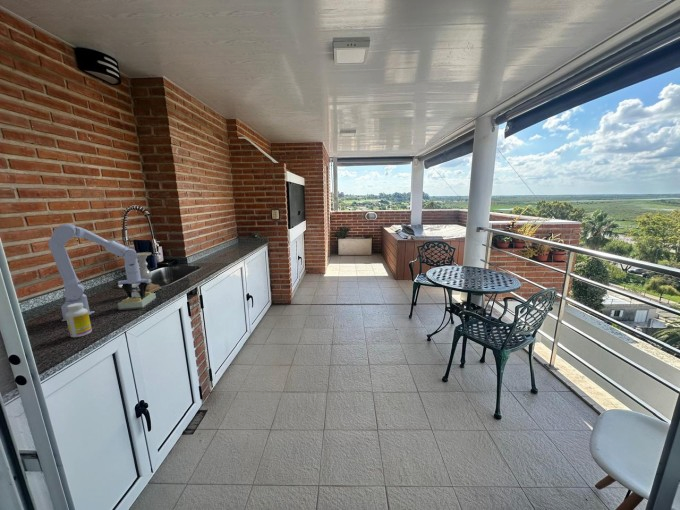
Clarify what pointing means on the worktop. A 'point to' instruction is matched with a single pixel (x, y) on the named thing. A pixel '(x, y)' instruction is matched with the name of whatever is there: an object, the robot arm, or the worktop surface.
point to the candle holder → (146, 272)
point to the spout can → (136, 293)
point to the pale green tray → (136, 302)
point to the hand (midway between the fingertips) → (137, 296)
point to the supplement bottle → (78, 320)
